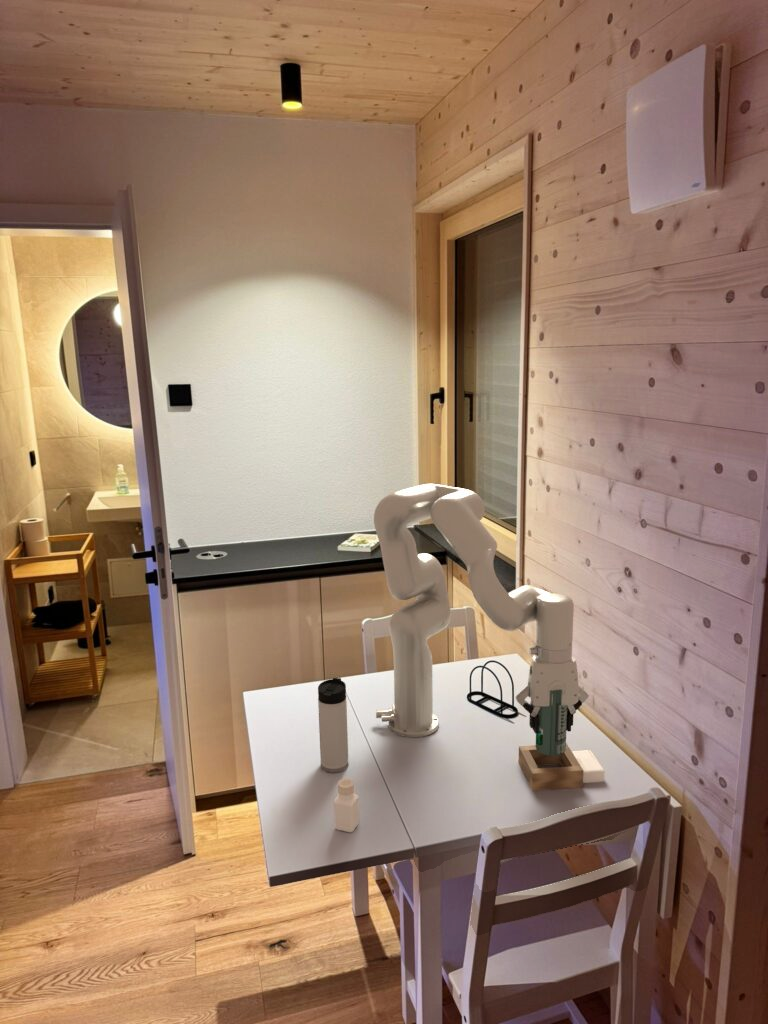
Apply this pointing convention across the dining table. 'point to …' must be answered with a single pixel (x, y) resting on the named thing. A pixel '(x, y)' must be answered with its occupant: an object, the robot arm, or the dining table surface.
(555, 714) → the can
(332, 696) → the travel mug
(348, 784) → the pepper shaker
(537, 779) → the socket
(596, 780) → the soap
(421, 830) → the dining table surface
